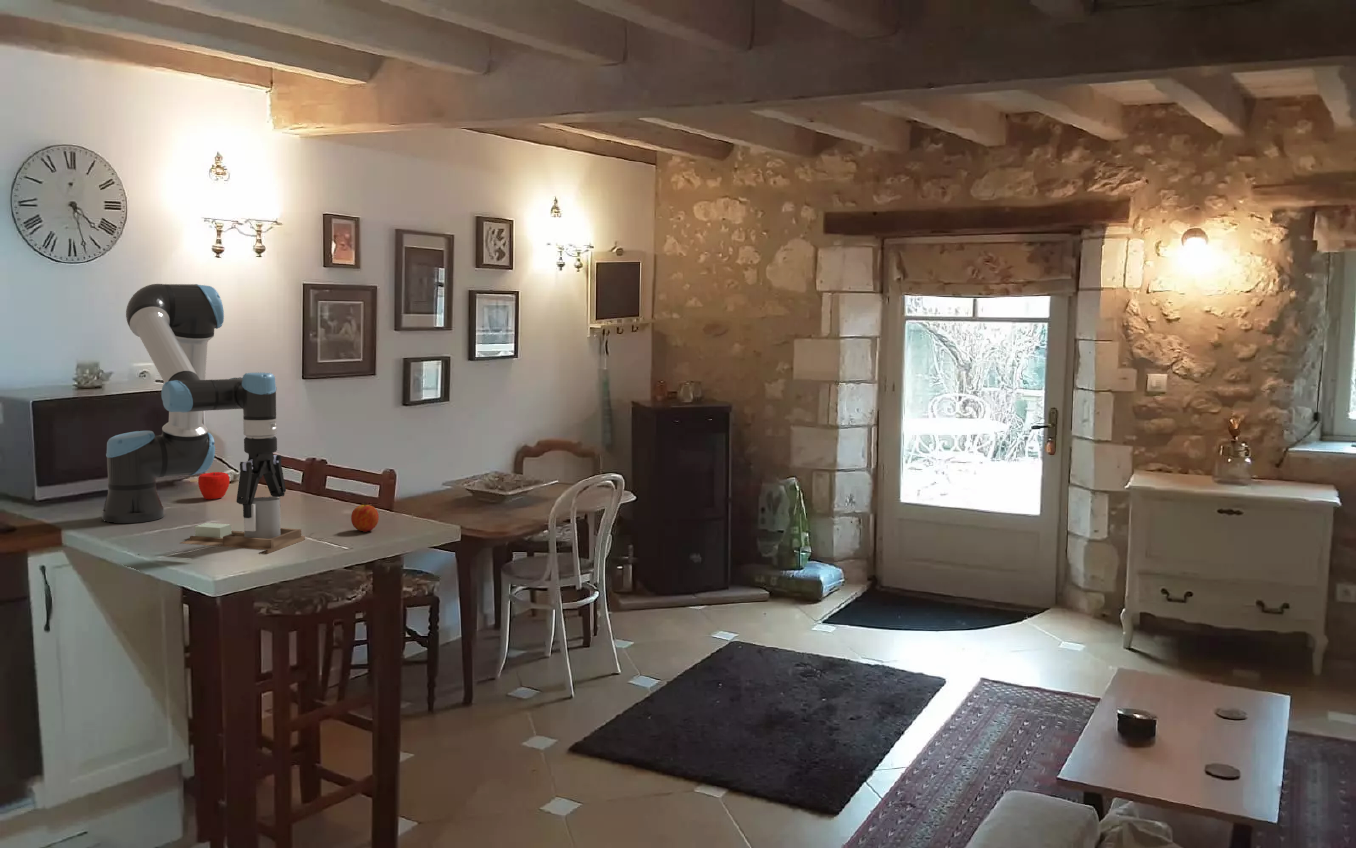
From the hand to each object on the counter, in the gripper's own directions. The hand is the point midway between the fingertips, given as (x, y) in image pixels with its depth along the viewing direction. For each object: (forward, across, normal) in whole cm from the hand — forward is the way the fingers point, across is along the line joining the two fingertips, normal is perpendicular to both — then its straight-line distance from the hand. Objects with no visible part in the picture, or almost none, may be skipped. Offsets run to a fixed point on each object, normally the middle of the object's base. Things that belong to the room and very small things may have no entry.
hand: (262, 526), depth 267 cm
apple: (+5, +50, +50) cm, 71 cm away
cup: (+4, 0, 0) cm, 4 cm away
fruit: (+5, +22, -16) cm, 27 cm away
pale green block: (+4, 0, +14) cm, 14 cm away
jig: (+5, 0, +6) cm, 7 cm away
